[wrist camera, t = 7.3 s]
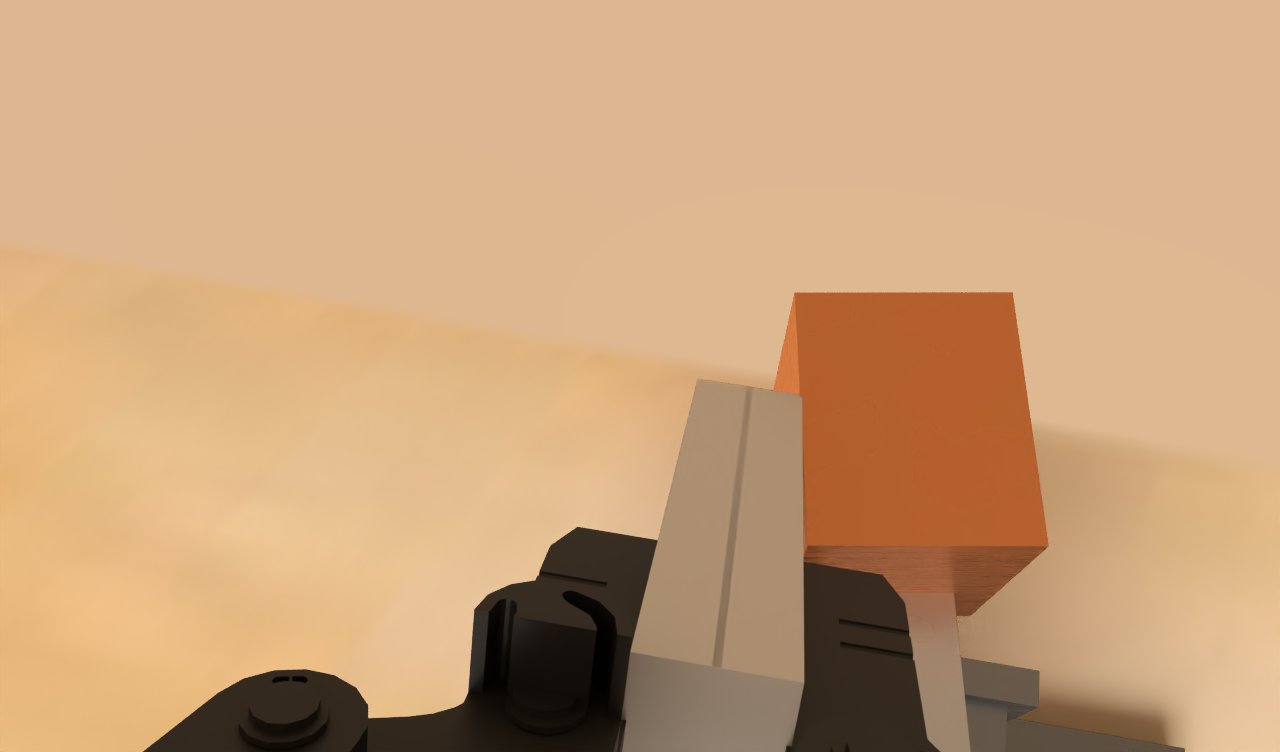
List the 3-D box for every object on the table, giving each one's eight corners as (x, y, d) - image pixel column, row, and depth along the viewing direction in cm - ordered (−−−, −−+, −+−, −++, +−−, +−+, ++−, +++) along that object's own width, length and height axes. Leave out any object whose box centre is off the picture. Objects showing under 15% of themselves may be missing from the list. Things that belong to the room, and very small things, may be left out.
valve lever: (1019, 1123, 15) (1142, 1205, 11) (797, 1120, 15) (842, 1199, 11) (942, 411, 20) (1012, 292, 16) (769, 411, 20) (794, 292, 16)
